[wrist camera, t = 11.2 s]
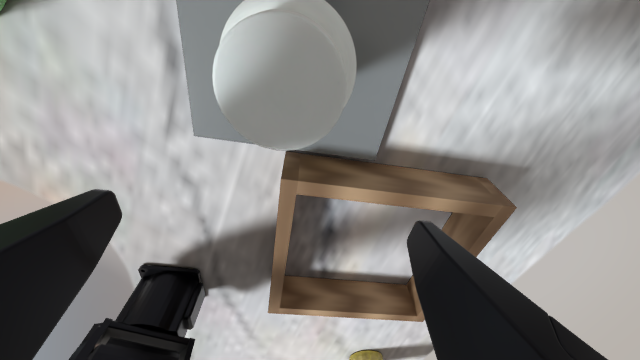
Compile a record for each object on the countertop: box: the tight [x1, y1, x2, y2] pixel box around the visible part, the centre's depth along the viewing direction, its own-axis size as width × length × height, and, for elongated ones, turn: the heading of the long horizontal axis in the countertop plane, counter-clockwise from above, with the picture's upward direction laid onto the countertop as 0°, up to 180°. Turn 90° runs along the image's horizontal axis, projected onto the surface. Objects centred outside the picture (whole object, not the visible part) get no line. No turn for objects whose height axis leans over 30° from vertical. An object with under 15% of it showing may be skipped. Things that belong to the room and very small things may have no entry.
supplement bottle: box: [212, 0, 357, 151], centre depth 11 cm, size 5×5×10 cm
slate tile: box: [176, 0, 430, 161], centre depth 16 cm, size 14×14×1 cm
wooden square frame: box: [268, 151, 517, 322], centre depth 25 cm, size 18×18×4 cm
